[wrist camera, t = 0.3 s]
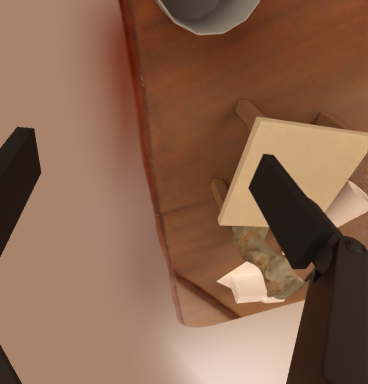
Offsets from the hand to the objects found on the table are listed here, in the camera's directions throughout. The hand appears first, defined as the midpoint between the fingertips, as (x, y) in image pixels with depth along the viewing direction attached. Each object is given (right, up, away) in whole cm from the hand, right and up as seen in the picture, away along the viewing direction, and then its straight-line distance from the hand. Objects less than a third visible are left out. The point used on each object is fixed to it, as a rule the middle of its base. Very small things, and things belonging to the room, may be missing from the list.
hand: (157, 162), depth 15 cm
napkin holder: (+18, -22, +46) cm, 54 cm away
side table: (+14, +4, +23) cm, 27 cm away
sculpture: (+13, -7, +32) cm, 35 cm away
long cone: (+26, -7, +35) cm, 44 cm away
